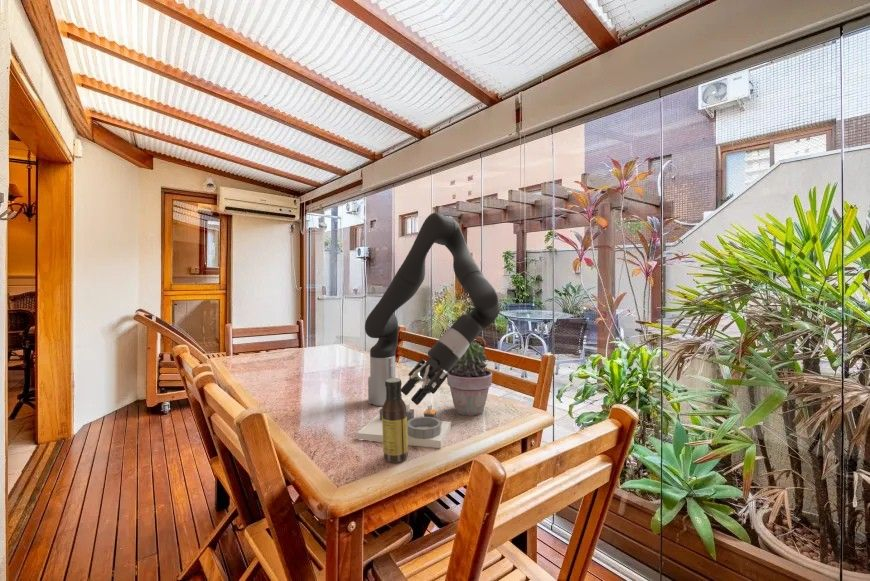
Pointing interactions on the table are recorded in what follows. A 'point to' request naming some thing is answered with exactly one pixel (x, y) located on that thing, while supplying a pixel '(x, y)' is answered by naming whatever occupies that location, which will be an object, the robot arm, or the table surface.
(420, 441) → the breaker board
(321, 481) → the table surface
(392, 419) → the sauce bottle
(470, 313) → the robot arm
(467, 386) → the potted plant
